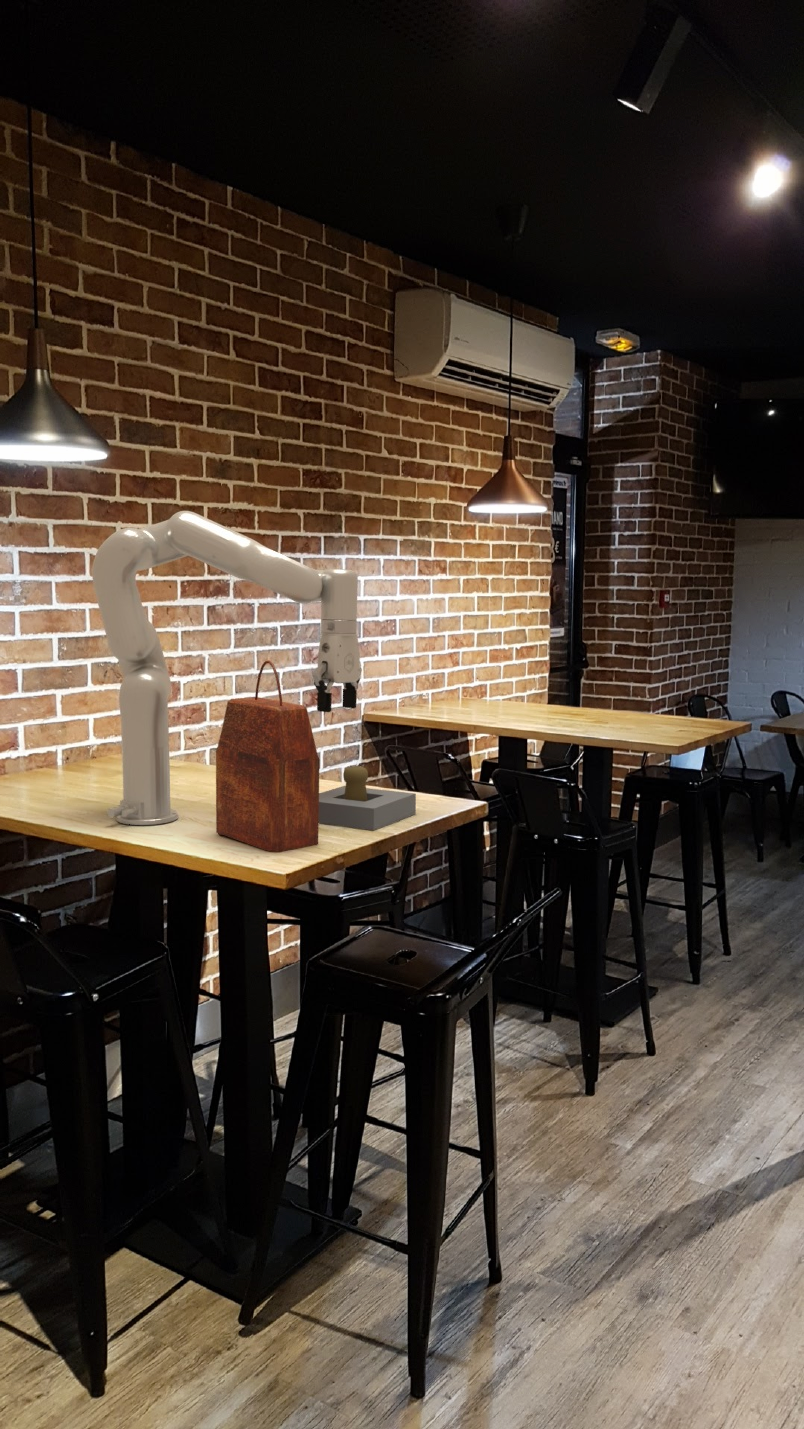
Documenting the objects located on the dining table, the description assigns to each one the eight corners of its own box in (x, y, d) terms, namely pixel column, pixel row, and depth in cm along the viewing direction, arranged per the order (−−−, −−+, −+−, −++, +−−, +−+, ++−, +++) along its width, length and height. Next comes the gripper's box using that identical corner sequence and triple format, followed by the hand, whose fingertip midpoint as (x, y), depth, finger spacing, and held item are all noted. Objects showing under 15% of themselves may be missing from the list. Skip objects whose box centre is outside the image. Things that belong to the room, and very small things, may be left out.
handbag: (273, 855, 193) (275, 665, 188) (215, 834, 207) (215, 657, 203) (318, 846, 200) (321, 662, 195) (259, 827, 214) (260, 655, 210)
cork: (342, 814, 226) (342, 764, 225) (370, 815, 226) (370, 764, 225) (340, 821, 220) (340, 769, 219) (369, 821, 220) (369, 769, 219)
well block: (373, 830, 212) (373, 808, 211) (299, 820, 220) (299, 799, 220) (415, 814, 228) (415, 793, 227) (344, 805, 236) (344, 785, 236)
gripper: (330, 630, 212) (329, 714, 214) (375, 628, 227) (373, 707, 229) (300, 628, 215) (298, 711, 217) (345, 627, 230) (344, 705, 232)
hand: (336, 709), depth 223 cm, fingers open, 9 cm apart
